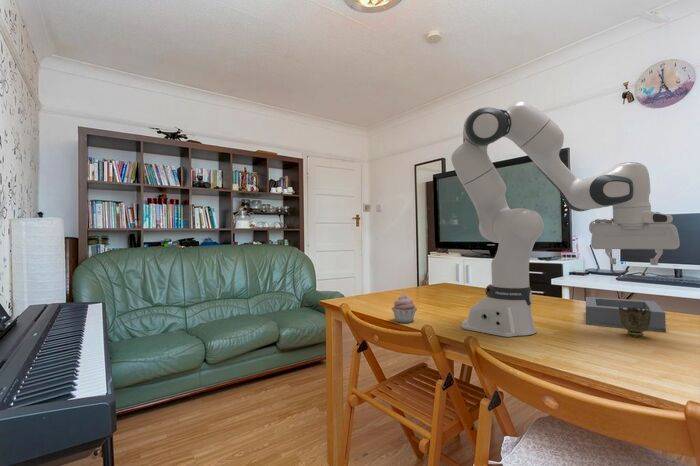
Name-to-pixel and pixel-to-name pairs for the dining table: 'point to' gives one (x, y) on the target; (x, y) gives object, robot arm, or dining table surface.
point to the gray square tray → (608, 314)
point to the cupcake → (404, 309)
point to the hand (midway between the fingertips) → (633, 264)
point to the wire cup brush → (635, 320)
